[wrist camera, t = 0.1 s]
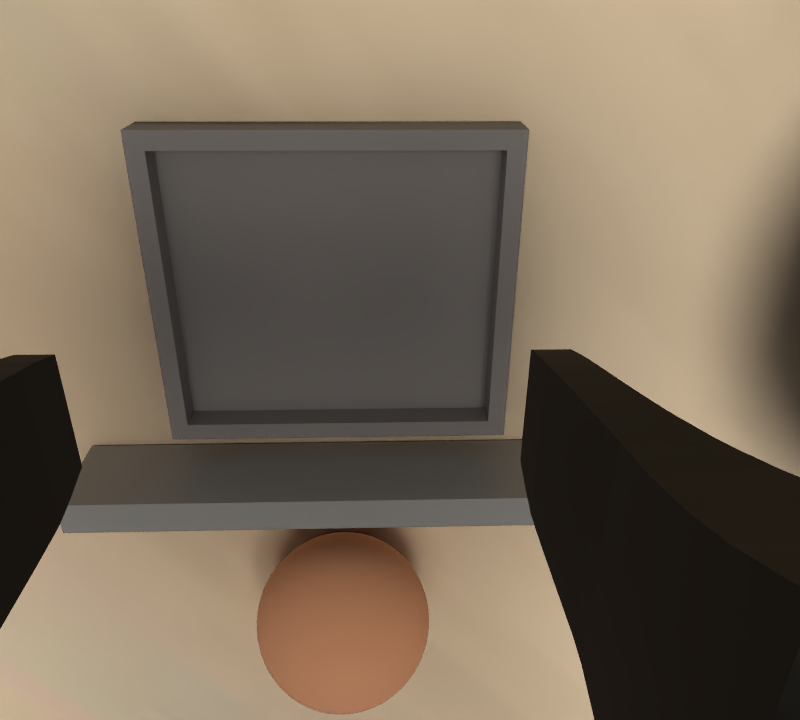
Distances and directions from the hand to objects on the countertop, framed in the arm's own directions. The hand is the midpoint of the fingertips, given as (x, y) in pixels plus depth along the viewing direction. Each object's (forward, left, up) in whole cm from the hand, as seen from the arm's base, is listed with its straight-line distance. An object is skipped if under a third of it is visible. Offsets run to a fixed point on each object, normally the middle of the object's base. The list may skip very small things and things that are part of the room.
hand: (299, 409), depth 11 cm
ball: (-12, 0, -7) cm, 14 cm away
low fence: (-8, 0, -10) cm, 13 cm away
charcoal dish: (-2, 0, -10) cm, 10 cm away
